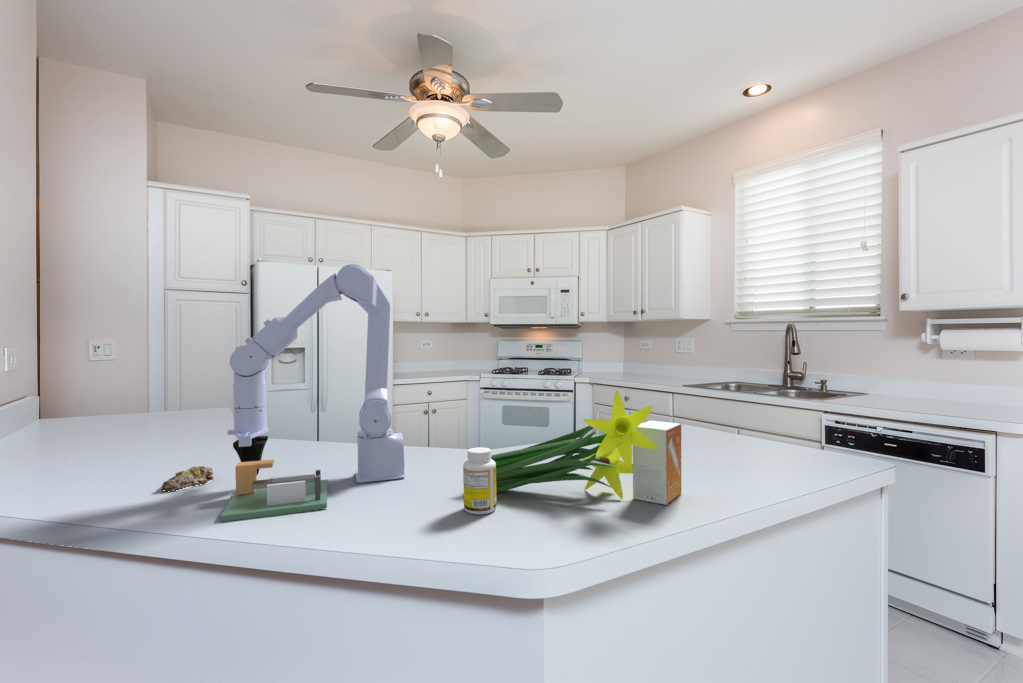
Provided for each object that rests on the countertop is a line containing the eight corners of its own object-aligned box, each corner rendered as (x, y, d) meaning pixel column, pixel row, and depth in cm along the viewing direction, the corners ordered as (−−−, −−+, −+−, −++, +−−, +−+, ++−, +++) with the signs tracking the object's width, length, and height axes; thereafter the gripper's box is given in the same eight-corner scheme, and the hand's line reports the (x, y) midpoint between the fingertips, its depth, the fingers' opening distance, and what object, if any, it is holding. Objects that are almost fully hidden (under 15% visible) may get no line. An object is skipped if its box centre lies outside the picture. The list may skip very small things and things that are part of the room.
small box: (667, 506, 85) (666, 430, 85) (632, 499, 89) (631, 426, 88) (682, 493, 91) (682, 422, 91) (649, 487, 95) (648, 419, 95)
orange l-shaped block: (274, 486, 95) (273, 459, 95) (272, 491, 92) (272, 463, 92) (239, 490, 93) (238, 462, 93) (236, 495, 90) (235, 466, 90)
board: (327, 484, 99) (327, 459, 99) (326, 509, 85) (326, 480, 85) (237, 494, 94) (237, 467, 94) (220, 522, 80) (219, 491, 80)
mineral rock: (189, 466, 107) (219, 457, 105) (194, 485, 107) (225, 477, 105) (143, 483, 96) (176, 473, 95) (149, 504, 96) (183, 495, 94)
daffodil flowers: (494, 479, 105) (660, 439, 98) (490, 539, 92) (679, 498, 85) (463, 421, 96) (642, 373, 90) (454, 478, 84) (661, 428, 77)
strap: (320, 477, 91) (320, 473, 91) (319, 482, 88) (319, 477, 88) (254, 484, 87) (253, 480, 87) (251, 490, 84) (251, 485, 84)
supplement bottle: (482, 502, 88) (481, 444, 88) (503, 509, 84) (502, 449, 84) (457, 510, 84) (456, 449, 84) (477, 518, 80) (477, 455, 80)
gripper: (234, 403, 103) (235, 468, 103) (219, 413, 89) (220, 488, 89) (271, 401, 105) (273, 465, 105) (262, 411, 92) (264, 484, 92)
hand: (251, 475), depth 98 cm, fingers closed
